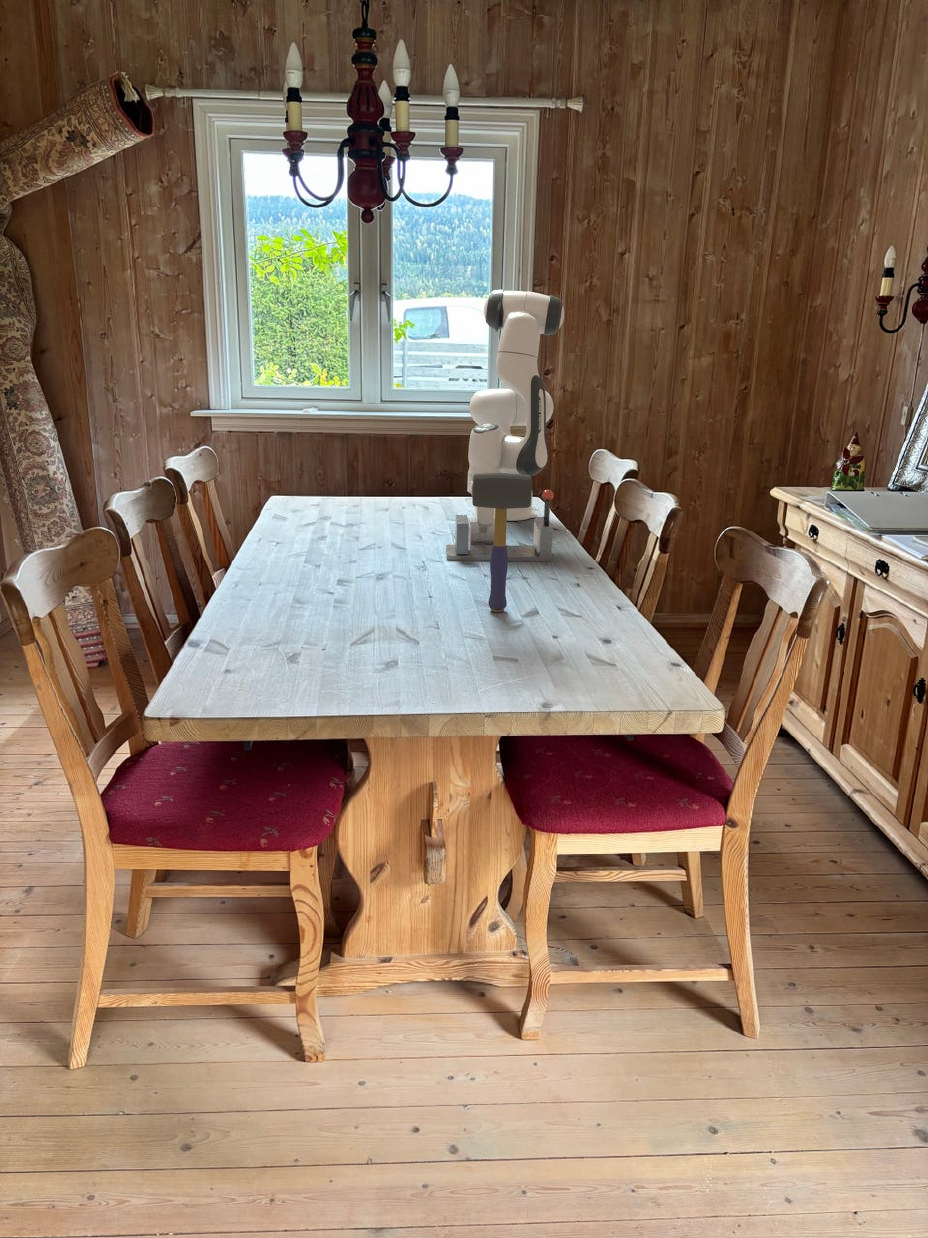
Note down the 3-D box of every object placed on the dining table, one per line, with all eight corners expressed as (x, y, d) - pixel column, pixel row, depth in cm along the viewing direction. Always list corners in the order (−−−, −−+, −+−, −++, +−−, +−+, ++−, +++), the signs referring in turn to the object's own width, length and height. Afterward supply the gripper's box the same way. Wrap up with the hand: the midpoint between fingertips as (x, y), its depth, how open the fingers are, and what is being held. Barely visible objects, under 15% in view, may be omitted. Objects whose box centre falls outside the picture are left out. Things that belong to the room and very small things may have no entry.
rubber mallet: (468, 615, 209) (472, 475, 200) (468, 605, 216) (472, 469, 207) (527, 616, 209) (533, 476, 200) (524, 606, 216) (531, 470, 207)
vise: (446, 548, 264) (447, 481, 259) (545, 550, 265) (549, 482, 260) (446, 560, 253) (448, 489, 247) (551, 561, 254) (554, 491, 248)
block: (463, 542, 272) (464, 517, 269) (499, 543, 272) (500, 518, 270) (464, 547, 267) (464, 521, 265) (500, 547, 267) (501, 522, 265)
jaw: (455, 544, 263) (455, 514, 261) (468, 544, 264) (469, 514, 261) (456, 554, 253) (457, 523, 251) (470, 554, 253) (471, 523, 251)
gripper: (470, 478, 274) (469, 527, 278) (474, 492, 255) (472, 544, 259) (493, 479, 274) (491, 527, 279) (498, 492, 255) (496, 544, 259)
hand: (482, 535), depth 269 cm, fingers closed on block, 5 cm apart
